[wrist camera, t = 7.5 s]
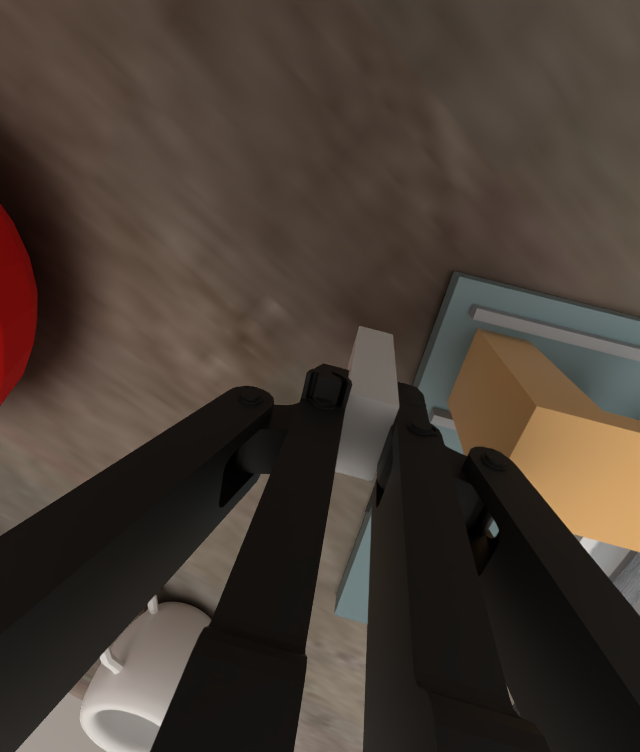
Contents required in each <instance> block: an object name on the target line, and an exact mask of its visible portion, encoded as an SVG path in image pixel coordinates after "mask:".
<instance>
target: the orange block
mask: <svg viewBox="0 0 640 752" xmlns="http://www.w3.org/2000/svg"><path fill="white" fill-rule="evenodd" d="M447 403H448V406H449V409H450V412H451V415H452V419H453V422H454V425H455V428H456V431H457V434H458V437H459V440H460V443H461V446H462V449H463V452H464V455H466V456H467V455H468V453H469V451H470V449H471V448H473V447H486V448H492V449H495V450H496V451H499V452H501V453H502V454H503V455H505V456H506V457H508V458H509V459H511V460H512V461H513V462H514V463H515V464H516V465H517V467H518V468H519V469H520V470H521V472H522V473H523V474H524V475H525V476H526V478H527V479H528V480H529V481H530V482H531V484H532V485H533V486H534V487H535V489H536V490H537V491H538V492H539V493H540V495H541V496H542V497H543V498H544V500H545V501H546V502H547V503H548V504H549V506H550V507H551V508H552V509H553V511H554V512H555V513H556V514H557V515H558V517H559V518H560V519H561V520H562V522H563V523H564V524H565V525H566V526H567V528H568V529H569V530H570V531H571V532H572V534H575V535H578V536H582V537H586V538H589V539H593V540H597V541H600V542H604V543H608V544H611V545H615V546H619V547H622V548H626V549H630V550H633V551H637V552H640V420H636V419H632V418H628V417H625V416H621V415H617V414H613V413H609V412H605V411H602V410H601V409H600V408H599V407H598V406H597V405H596V404H595V403H594V402H593V401H592V400H591V399H590V398H589V397H588V396H587V395H586V394H585V393H583V392H582V391H581V390H580V389H579V388H578V387H577V386H576V385H575V384H574V383H573V382H572V381H571V380H570V379H569V378H568V377H567V376H566V375H564V374H563V373H562V372H561V371H560V370H559V369H558V368H557V367H556V366H555V365H554V364H553V363H552V362H551V361H550V360H549V359H548V358H547V357H546V356H544V355H543V354H542V353H541V352H540V351H539V350H538V349H537V348H536V347H535V346H534V345H533V344H532V343H531V342H530V341H527V340H523V339H519V338H515V337H511V336H507V335H503V334H499V333H496V332H492V331H488V330H484V329H480V328H478V329H477V331H476V333H475V336H474V338H473V341H472V343H471V346H470V348H469V350H468V353H467V355H466V358H465V360H464V362H463V365H462V367H461V370H460V372H459V374H458V377H457V379H456V382H455V384H454V387H453V389H452V391H451V394H450V396H449V399H448V401H447Z"/></svg>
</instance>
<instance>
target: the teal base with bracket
mask: <svg viewBox="0 0 640 752" xmlns="http://www.w3.org/2000/svg"><path fill="white" fill-rule="evenodd" d="M478 328H480V329H484V330H488V331H492V332H496V333H499V334H503V335H507V336H511V337H515V338H519V339H523V340H527V341H530V342H531V343H532V344H533V345H534V346H535V347H536V348H537V349H538V350H539V351H540V352H541V353H542V354H543V355H544V356H546V357H547V358H548V359H549V360H550V361H551V362H552V363H553V364H554V365H555V366H556V367H557V368H558V369H559V370H560V371H561V372H562V373H563V374H564V375H566V376H567V377H568V378H569V379H570V380H571V381H572V382H573V383H574V384H575V385H576V386H577V387H578V388H579V389H580V390H581V391H582V392H583V393H585V394H586V395H587V396H588V397H589V398H590V399H591V400H592V401H593V402H594V403H595V404H596V405H597V406H598V407H599V408H600V409H601V410H602V411H605V412H609V413H613V414H617V415H621V416H625V417H628V418H632V419H636V420H640V317H637V316H632V315H628V314H624V313H620V312H616V311H612V310H608V309H604V308H600V307H596V306H592V305H588V304H584V303H580V302H576V301H572V300H568V299H564V298H560V297H556V296H552V295H548V294H544V293H540V292H536V291H532V290H528V289H524V288H520V287H516V286H512V285H508V284H504V283H500V282H496V281H492V280H488V279H484V278H480V277H476V276H472V275H468V274H464V273H460V272H456V271H454V272H453V275H452V278H451V280H450V283H449V286H448V289H447V291H446V294H445V297H444V300H443V302H442V305H441V308H440V311H439V314H438V316H437V319H436V322H435V325H434V327H433V330H432V333H431V336H430V338H429V341H428V344H427V347H426V349H425V352H424V355H423V358H422V360H421V363H420V366H419V369H418V372H417V374H416V377H415V380H414V383H413V385H412V386H415V387H417V388H418V389H419V390H420V391H421V392H422V393H423V395H424V399H425V403H426V409H427V412H428V417H429V421H430V423H431V424H433V425H434V426H435V427H436V428H438V429H439V430H440V432H441V434H442V437H443V440H444V444H445V446H447V447H449V448H451V449H452V450H454V451H457V452H459V453H461V454H463V455H464V452H463V449H462V446H461V443H460V440H459V437H458V434H457V431H456V428H455V425H454V422H453V419H452V415H451V412H450V409H449V406H448V403H447V401H448V399H449V396H450V394H451V391H452V389H453V387H454V384H455V382H456V379H457V377H458V374H459V372H460V370H461V367H462V365H463V362H464V360H465V358H466V355H467V353H468V350H469V348H470V346H471V343H472V341H473V338H474V336H475V333H476V331H477V329H478ZM371 513H372V507H371V509H370V511H369V512H366V515H365V518H364V521H363V523H362V526H361V529H360V532H359V534H358V537H357V540H356V543H355V545H354V548H353V551H352V554H351V556H350V559H349V562H348V565H347V568H346V570H345V573H344V576H343V579H342V581H341V584H340V587H339V590H338V592H337V595H336V604H335V612H334V615H337V616H340V617H344V618H347V619H351V620H354V621H358V622H361V623H365V624H368V598H369V569H370V541H371ZM489 530H490V532H491V533H492V535H493V536H494V537H495V536H496V535H497V533H498V532H499V529H498V527H497V525H496V523H495V521H494V520H493V522H492V524H491V526H490V528H489ZM573 535H574V536H575V537H576V539H577V540H578V541H579V542H580V543H581V545H582V546H583V547H584V548H585V550H586V551H587V552H588V553H589V554H590V556H591V557H592V558H593V559H594V561H595V562H596V563H597V564H598V565H599V567H600V568H601V569H602V570H603V572H604V573H605V574H606V575H607V576H608V578H609V579H610V580H611V581H612V582H614V581H615V580H616V579H617V577H618V576H619V575H620V574H621V573H622V571H623V570H624V569H625V568H626V566H627V565H628V564H629V563H630V562H631V560H632V559H633V558H634V557H635V555H636V554H637V553H638V552H637V551H633V550H630V549H626V548H622V547H619V546H615V545H611V544H608V543H604V542H600V541H597V540H593V539H589V538H586V537H582V536H578V535H575V534H573Z"/></svg>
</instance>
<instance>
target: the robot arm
mask: <svg viewBox="0 0 640 752" xmlns="http://www.w3.org/2000/svg"><path fill="white" fill-rule="evenodd" d="M376 471H377V480H376V483H375V486H374V489H373V491H372V494H371V497H370V500H369V503H368V505H367V508H366V511H365V512H369V511H370V509H371V507H372V513H371V541H370V569H369V598H368V626H367V654H366V682H365V711H364V739H363V752H640V615H639V614H638V613H637V612H636V611H635V609H634V608H633V607H632V606H631V604H630V603H629V602H628V601H627V600H626V598H625V597H624V596H623V595H622V593H621V592H620V591H619V590H618V589H617V587H616V586H615V585H614V584H613V582H612V581H611V580H610V579H609V578H608V576H607V575H606V574H605V573H604V572H603V570H602V569H601V568H600V567H599V565H598V564H597V563H596V562H595V561H594V559H593V558H592V557H591V556H590V554H589V553H588V552H587V551H586V550H585V548H584V547H583V546H582V545H581V543H580V542H579V541H578V540H577V539H576V537H575V536H574V535H573V534H572V532H571V531H570V530H569V529H568V528H567V526H566V525H565V524H564V523H563V522H562V520H561V519H560V518H559V517H558V515H557V514H556V513H555V512H554V511H553V509H552V508H551V507H550V506H549V504H548V503H547V502H546V501H545V500H544V498H543V497H542V496H541V495H540V493H539V492H538V491H537V490H536V489H535V487H534V486H533V485H532V484H531V482H530V481H529V480H528V479H527V478H526V476H525V475H524V474H523V473H522V472H521V470H520V469H519V468H518V467H517V465H516V464H515V463H514V462H513V461H512V460H511V459H509V458H508V457H506V456H505V455H503V454H502V453H501V452H499V451H496V450H495V449H492V448H486V447H473V448H471V449H470V451H469V453H468V455H467V456H466V455H463V454H461V453H459V452H457V451H454V450H452V449H451V448H449V447H447V446H445V444H444V440H443V437H442V434H441V432H440V430H439V429H438V428H436V427H435V426H434V425H433V424H431V423H430V421H429V417H428V412H427V409H426V403H425V399H424V395H423V393H422V392H421V391H420V390H419V389H418V388H417V387H415V386H411V385H407V384H404V383H400V382H397V374H396V363H395V352H394V340H393V334H389V333H385V332H381V331H377V330H374V329H370V328H366V327H362V326H359V328H358V332H357V335H356V339H355V343H354V346H353V350H352V354H351V357H350V361H349V365H348V368H347V370H346V369H342V368H338V367H335V366H331V365H327V364H322V365H320V366H318V367H316V368H315V369H311V370H309V371H308V372H307V375H306V379H305V383H304V388H303V392H302V397H301V400H300V402H299V403H297V404H294V405H274V399H273V397H272V396H271V395H270V394H269V393H268V392H266V391H264V390H263V389H259V388H257V387H253V386H251V387H250V386H241V387H235V388H233V389H230V390H229V391H227V392H225V393H224V394H222V395H221V396H219V397H218V398H216V399H214V400H213V401H211V402H210V403H208V404H207V405H205V406H203V407H202V408H200V409H199V410H197V411H196V412H194V413H192V414H191V415H189V416H188V417H186V418H185V419H183V420H181V421H180V422H178V423H177V424H175V425H174V426H172V427H171V428H169V429H167V430H166V431H164V432H163V433H161V434H160V435H158V436H156V437H155V438H153V439H152V440H150V441H149V442H147V443H145V444H144V445H142V446H141V447H139V448H138V449H136V450H134V451H133V452H131V453H130V454H128V455H127V456H125V457H123V458H122V459H120V460H119V461H117V462H116V463H114V464H113V465H111V466H109V467H108V468H106V469H105V470H103V471H102V472H100V473H98V474H97V475H95V476H94V477H92V478H91V479H89V480H87V481H86V482H84V483H83V484H81V485H80V486H78V487H76V488H75V489H73V490H72V491H70V492H69V493H67V494H65V495H64V496H62V497H61V498H59V499H58V500H56V501H55V502H53V503H51V504H50V505H48V506H47V507H45V508H44V509H42V510H40V511H39V512H37V513H36V514H34V515H33V516H31V517H29V518H28V519H26V520H25V521H23V522H22V523H20V524H18V525H17V526H15V527H14V528H12V529H11V530H9V531H7V532H6V533H4V534H3V535H1V536H0V752H15V751H16V750H17V749H18V748H19V747H20V746H21V744H22V743H23V742H24V741H25V740H26V739H27V738H28V737H29V736H30V734H31V733H32V732H33V731H34V730H35V729H36V728H37V727H38V726H39V724H40V723H41V722H42V721H43V720H44V719H45V718H46V717H47V716H48V714H49V713H50V712H51V711H52V710H53V709H54V708H55V707H56V705H57V704H58V703H59V702H60V701H61V700H62V699H63V698H64V697H65V695H66V694H67V693H68V692H69V691H70V690H71V689H72V688H73V686H74V685H75V684H76V683H77V682H78V681H79V680H80V679H81V678H82V676H83V675H84V674H85V673H86V672H87V671H88V670H89V669H90V667H91V666H92V665H93V664H94V663H95V662H96V661H97V660H98V659H99V657H100V656H101V655H102V654H103V653H104V652H105V651H106V650H107V648H108V647H109V646H110V645H111V644H112V643H113V642H114V641H115V639H116V638H117V637H118V636H119V635H120V634H121V633H122V632H123V631H124V629H125V628H126V627H127V626H128V625H129V624H130V623H131V622H132V620H133V619H134V618H135V617H136V616H137V615H138V614H139V613H140V612H141V610H142V609H143V608H144V607H145V606H146V605H147V604H148V603H149V601H150V600H151V599H152V598H153V597H154V596H155V595H156V594H157V593H158V591H159V590H160V589H161V588H162V587H163V586H164V585H165V584H166V582H167V581H168V580H169V579H170V578H171V577H172V576H173V575H174V574H175V572H176V571H177V570H178V569H179V568H180V567H181V566H182V565H183V563H184V562H185V561H186V560H187V559H188V558H189V557H190V556H191V555H192V553H193V552H194V551H195V550H196V549H197V548H198V547H199V546H200V544H201V543H202V542H203V541H204V540H205V539H206V538H207V537H208V536H209V534H210V533H211V532H212V531H213V530H214V529H215V528H216V527H217V525H218V524H219V523H220V522H221V521H222V520H223V519H224V518H225V517H226V515H227V514H228V513H229V512H230V511H231V510H232V509H233V508H234V506H235V505H236V504H237V503H238V502H239V501H240V500H241V499H242V498H243V496H244V495H245V494H246V493H247V492H248V491H249V490H250V489H251V487H252V486H253V485H254V484H255V483H256V482H257V480H258V478H259V477H260V474H270V477H269V479H268V482H267V484H266V487H265V489H264V492H263V494H262V496H261V499H260V501H259V504H258V506H257V509H256V511H255V514H254V516H253V519H252V521H251V524H250V526H249V529H248V531H247V534H246V536H245V539H244V541H243V544H242V546H241V549H240V551H239V554H238V556H237V559H236V561H235V564H234V566H233V568H232V571H231V573H230V576H229V578H228V581H227V583H226V586H225V588H224V591H223V593H222V596H221V598H220V601H219V603H218V606H217V608H216V611H215V613H214V615H213V618H212V620H211V622H210V624H209V625H208V626H206V627H204V628H203V630H202V632H201V633H200V635H199V637H198V639H197V641H196V643H195V646H194V648H193V650H192V652H191V655H190V657H189V659H188V662H187V664H186V666H185V669H184V671H183V674H182V676H181V678H180V681H179V683H178V686H177V688H176V690H175V693H174V695H173V698H172V700H171V702H170V705H169V707H168V709H167V712H166V714H165V717H164V719H163V721H162V724H161V726H160V729H159V731H158V733H157V736H156V738H155V740H154V743H153V745H152V748H151V750H150V752H294V745H295V739H296V733H297V726H298V720H299V714H300V707H301V701H302V695H303V688H304V682H305V674H306V666H307V656H306V655H305V648H306V641H307V635H308V629H309V623H310V617H311V611H312V605H313V599H314V593H315V587H316V581H317V575H318V569H319V563H320V557H321V551H322V545H323V539H324V533H325V528H326V522H327V516H328V510H329V504H330V498H331V492H332V486H333V480H334V474H335V472H339V473H342V474H346V475H350V476H353V477H357V478H361V479H364V480H368V481H372V482H373V479H374V477H375V474H376ZM493 520H494V521H495V523H496V525H497V527H498V529H499V532H498V533H497V535H496V536H495V537H494V536H493V535H492V533H491V532H490V530H489V528H490V526H491V524H492V522H493ZM506 685H507V686H506ZM507 687H508V689H509V691H510V694H511V696H512V698H513V700H514V702H515V705H516V707H517V709H518V711H519V714H520V716H521V717H520V716H518V714H517V713H516V712H515V710H514V709H513V706H512V703H511V701H510V698H509V694H508V690H507Z"/></svg>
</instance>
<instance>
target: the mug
mask: <svg viewBox="0 0 640 752" xmlns="http://www.w3.org/2000/svg"><path fill="white" fill-rule="evenodd" d="M210 622H211V619H210V617H209V616H208V615H206V614H205V613H204V612H202V611H201V610H199V609H198V608H196V607H194V606H191V605H188V604H185V603H181V602H164V603H161V604H158V600H157V595H155V596H154V597H153V598H152V599H151V600H150V601H149V603H148V610H147V611H145V612H144V613H143V614H142V615H140V616H139V617H138V618H137V619H136V620H135V621H134V622H133V623H132V624H131V625H130V626H129V627H128V628H127V629H126V630H125V631H124V632H123V633H122V635H121V636H120V637H119V638H118V640H117V641H116V642H115V644H114V645H113V646H112V648H110V646H109V647H108V648H107V650H106V651H105V652H104V653H103V654H102V655H101V656H100V660H101V662H102V663H101V664H100V666H99V668H98V670H97V672H96V673H95V675H94V677H93V679H92V681H91V683H90V685H89V687H88V689H87V692H86V694H85V696H84V699H83V702H82V707H81V712H80V723H81V726H82V728H83V729H84V731H85V732H86V734H87V735H88V736H89V737H90V738H91V739H92V740H93V741H94V742H95V743H96V744H97V745H98V746H99V747H101V748H102V749H104V750H105V751H107V752H150V750H151V748H152V745H153V743H154V740H155V738H156V736H157V733H158V731H159V729H160V726H161V724H162V721H163V719H164V717H165V714H166V712H167V709H168V707H169V705H170V702H171V700H172V698H173V695H174V693H175V690H176V688H177V686H178V683H179V681H180V678H181V676H182V674H183V671H184V669H185V666H186V664H187V662H188V659H189V657H190V655H191V652H192V650H193V648H194V646H195V643H196V641H197V639H198V637H199V635H200V633H201V632H202V630H203V628H204V627H206V626H208V625H209V624H210Z"/></svg>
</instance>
